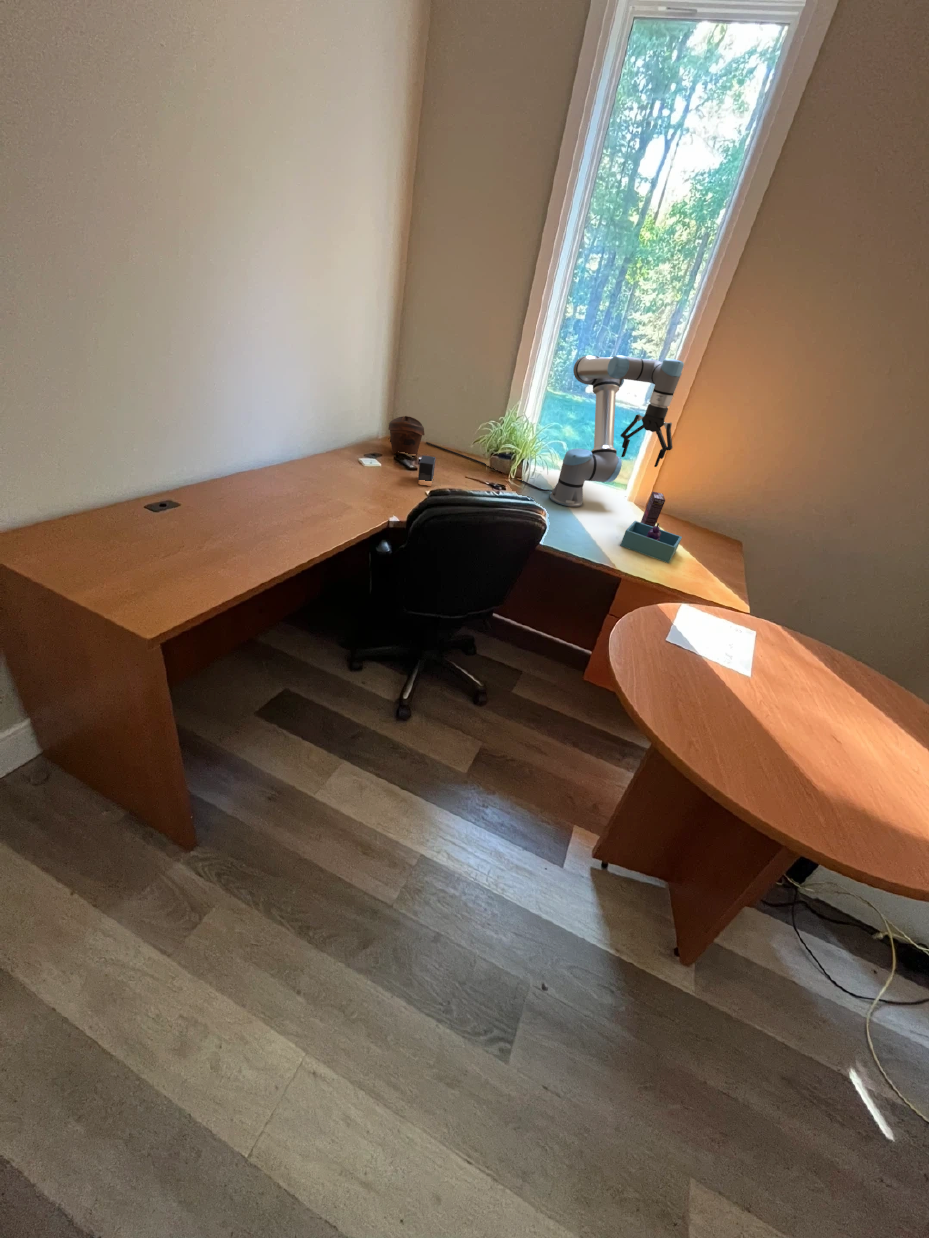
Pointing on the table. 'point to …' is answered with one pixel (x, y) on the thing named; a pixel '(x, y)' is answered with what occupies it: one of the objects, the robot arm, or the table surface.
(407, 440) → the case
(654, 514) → the supplement box
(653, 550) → the bin
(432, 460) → the small box
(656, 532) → the grapes
